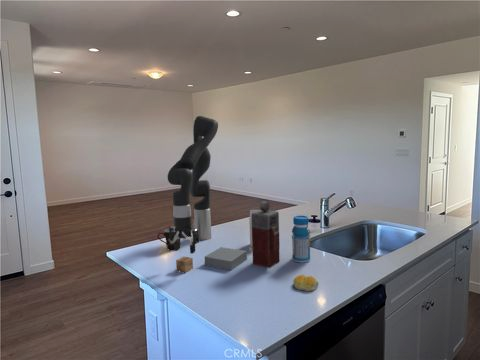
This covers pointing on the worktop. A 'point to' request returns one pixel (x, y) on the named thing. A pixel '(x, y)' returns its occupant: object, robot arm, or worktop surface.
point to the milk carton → (251, 225)
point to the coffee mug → (169, 243)
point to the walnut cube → (184, 264)
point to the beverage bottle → (301, 239)
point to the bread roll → (305, 283)
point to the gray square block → (226, 258)
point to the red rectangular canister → (265, 236)
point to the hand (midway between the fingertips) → (184, 251)
